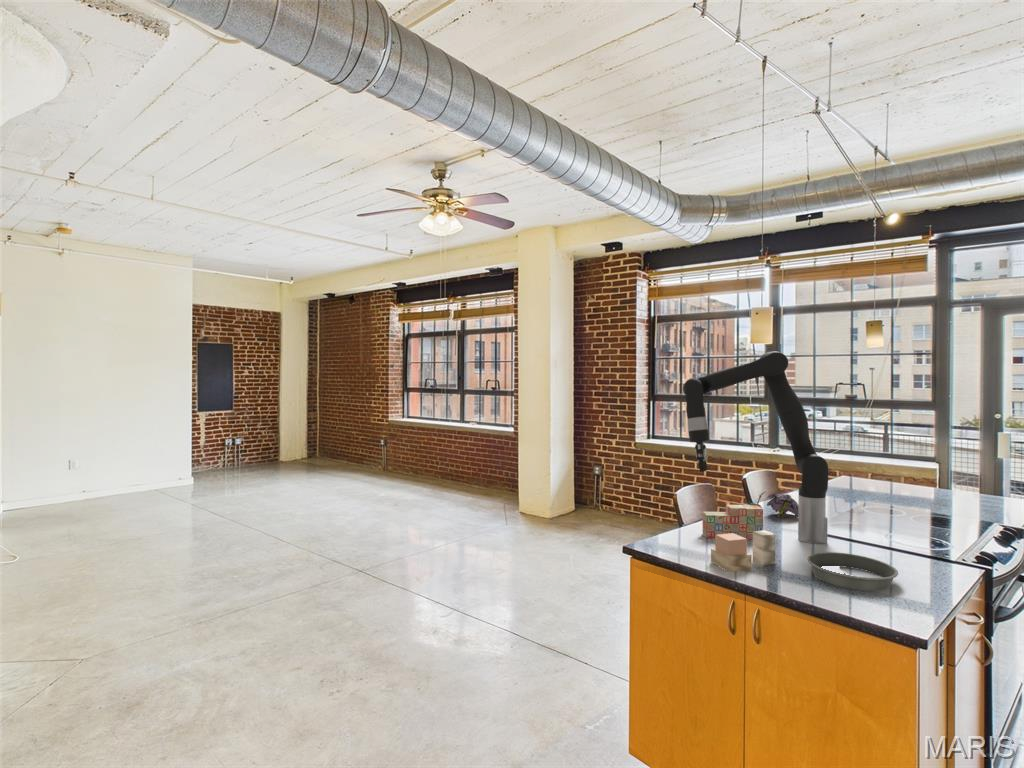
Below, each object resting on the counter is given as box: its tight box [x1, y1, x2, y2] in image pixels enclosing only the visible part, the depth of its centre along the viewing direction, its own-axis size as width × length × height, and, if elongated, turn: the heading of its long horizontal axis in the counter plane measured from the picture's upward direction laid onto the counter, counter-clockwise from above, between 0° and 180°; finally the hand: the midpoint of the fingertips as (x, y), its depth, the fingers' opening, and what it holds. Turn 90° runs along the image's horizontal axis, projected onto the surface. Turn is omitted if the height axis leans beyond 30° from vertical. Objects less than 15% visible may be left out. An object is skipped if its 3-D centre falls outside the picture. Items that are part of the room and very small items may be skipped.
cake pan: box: [806, 551, 899, 591], centre depth 177 cm, size 25×25×4 cm
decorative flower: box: [766, 492, 799, 519], centre depth 252 cm, size 14×12×15 cm
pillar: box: [752, 529, 776, 566], centre depth 192 cm, size 5×5×10 cm
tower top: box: [714, 533, 748, 556], centre depth 188 cm, size 7×7×5 cm
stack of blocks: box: [702, 504, 764, 541], centre depth 221 cm, size 21×6×12 cm, turn 85°
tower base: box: [710, 548, 753, 572], centre depth 188 cm, size 9×9×5 cm
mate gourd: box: [747, 490, 767, 510], centre depth 240 cm, size 8×8×15 cm
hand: (703, 471), depth 218 cm, fingers open, 8 cm apart
